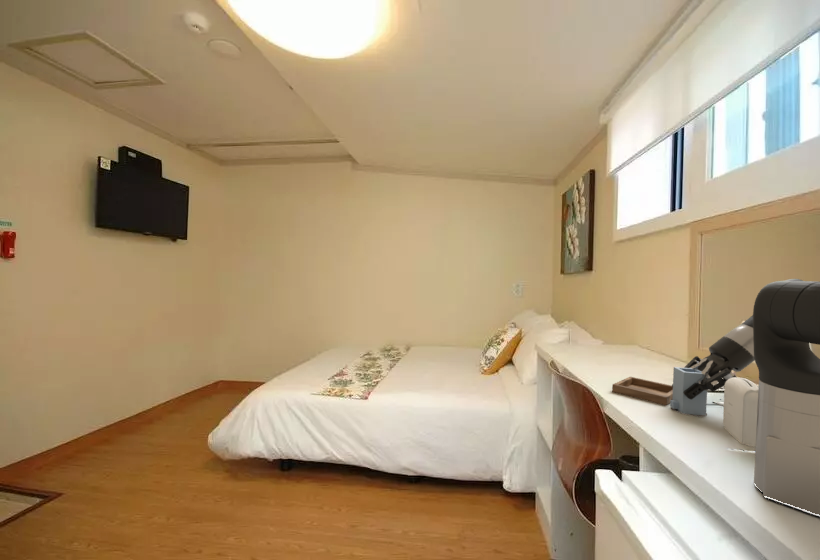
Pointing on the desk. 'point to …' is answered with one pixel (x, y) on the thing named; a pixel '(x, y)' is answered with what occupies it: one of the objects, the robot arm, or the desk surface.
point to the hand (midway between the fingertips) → (680, 392)
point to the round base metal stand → (689, 414)
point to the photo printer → (741, 409)
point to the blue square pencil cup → (682, 382)
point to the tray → (644, 390)
